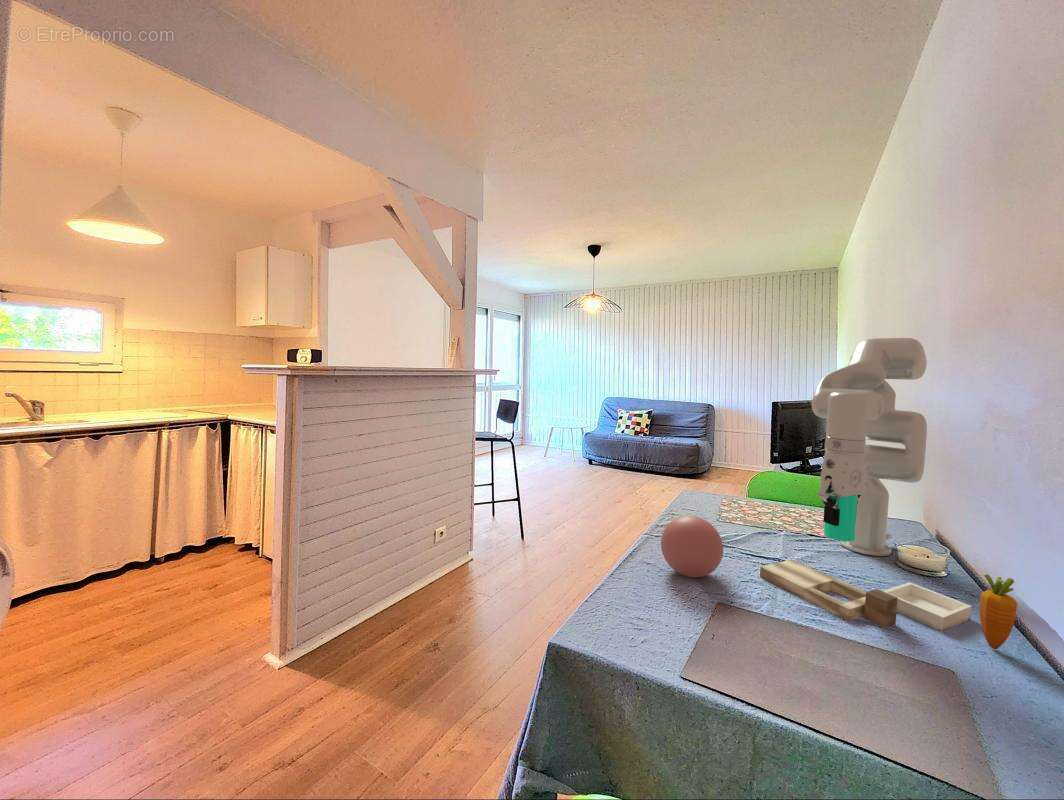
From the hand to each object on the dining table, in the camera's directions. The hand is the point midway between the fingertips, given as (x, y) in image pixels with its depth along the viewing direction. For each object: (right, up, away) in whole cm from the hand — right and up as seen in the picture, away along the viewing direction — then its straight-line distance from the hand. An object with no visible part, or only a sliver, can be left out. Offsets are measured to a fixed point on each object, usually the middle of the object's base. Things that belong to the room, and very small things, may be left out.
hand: (839, 521), depth 104 cm
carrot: (+19, -21, -17) cm, 33 cm away
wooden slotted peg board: (-2, -19, +5) cm, 19 cm away
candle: (0, -4, 0) cm, 4 cm away
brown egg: (-28, -18, +15) cm, 37 cm away
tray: (+17, -19, -3) cm, 26 cm away
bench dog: (+4, -20, -8) cm, 21 cm away
